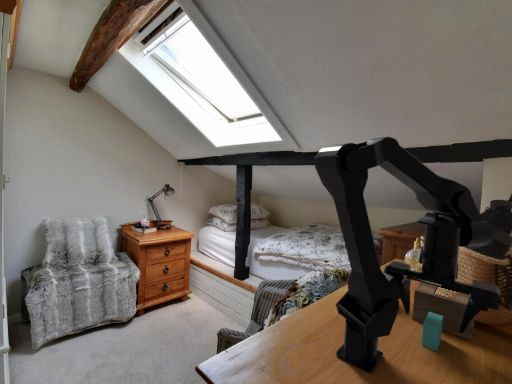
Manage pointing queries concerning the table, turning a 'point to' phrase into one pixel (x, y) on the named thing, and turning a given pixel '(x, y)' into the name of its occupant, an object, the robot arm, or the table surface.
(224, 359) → the table surface
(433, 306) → the wooden box
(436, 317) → the teal block
